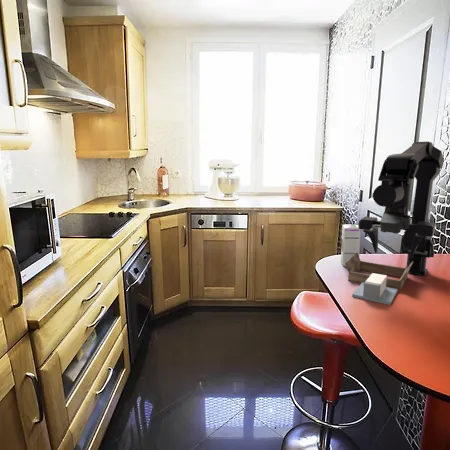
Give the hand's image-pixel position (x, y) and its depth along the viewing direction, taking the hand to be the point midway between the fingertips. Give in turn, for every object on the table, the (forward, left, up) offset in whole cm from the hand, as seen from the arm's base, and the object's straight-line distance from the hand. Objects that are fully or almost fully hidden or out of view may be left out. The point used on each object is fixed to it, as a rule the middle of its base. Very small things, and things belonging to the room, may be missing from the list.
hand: (393, 255), depth 98 cm
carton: (-10, -5, -11) cm, 16 cm away
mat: (+3, -3, -11) cm, 12 cm away
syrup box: (-20, -17, -12) cm, 29 cm away
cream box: (+3, -3, -11) cm, 12 cm away
